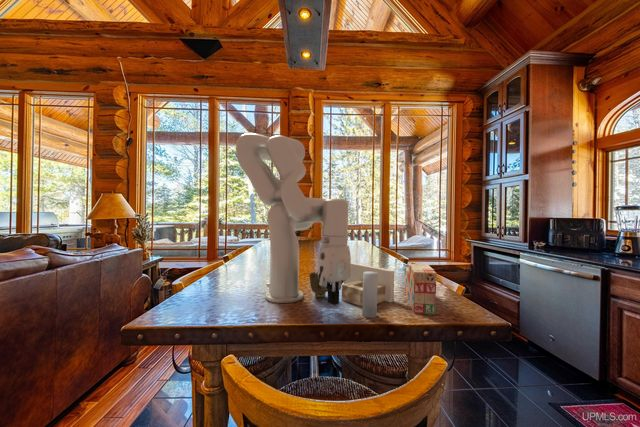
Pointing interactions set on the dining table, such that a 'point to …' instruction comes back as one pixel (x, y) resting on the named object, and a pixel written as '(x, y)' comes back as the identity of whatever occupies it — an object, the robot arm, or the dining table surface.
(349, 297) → the socket block
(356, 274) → the backstop wall
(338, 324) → the dining table surface
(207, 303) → the dining table surface
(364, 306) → the dowel
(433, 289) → the stack of blocks
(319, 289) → the cup
